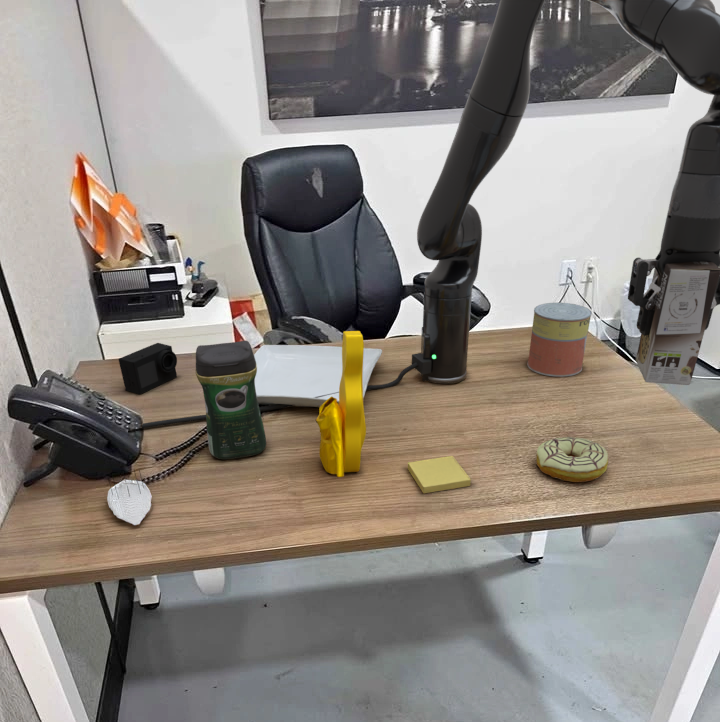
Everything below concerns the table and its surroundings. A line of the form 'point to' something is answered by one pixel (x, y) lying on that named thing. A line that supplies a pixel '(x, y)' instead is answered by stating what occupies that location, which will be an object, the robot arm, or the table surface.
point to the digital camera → (148, 368)
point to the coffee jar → (230, 399)
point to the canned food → (558, 339)
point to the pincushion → (130, 500)
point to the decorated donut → (572, 459)
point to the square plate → (303, 373)
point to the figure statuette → (344, 413)
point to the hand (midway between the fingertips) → (670, 332)
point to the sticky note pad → (438, 474)
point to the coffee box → (678, 322)
